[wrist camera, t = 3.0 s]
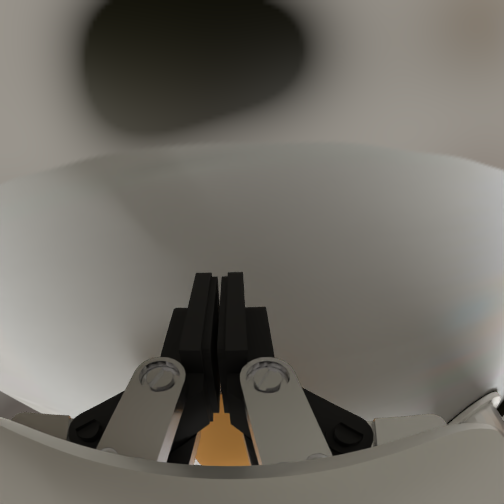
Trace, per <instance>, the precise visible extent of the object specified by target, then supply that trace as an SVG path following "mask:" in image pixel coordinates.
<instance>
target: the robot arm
mask: <svg viewBox="0 0 504 504" xmlns="http://www.w3.org/2000/svg"><path fill="white" fill-rule="evenodd" d="M220 383H221V391H222V399H223V406H224V413H229V414H230V423H231V425H233V426H234V427H235V428H237V429H238V430H239V431H241V432H242V434H243V440H244V444H245V448H246V452H247V456H248V460H249V464H250V466H204V465H194V462H195V458H196V454H197V450H198V446H199V442H200V438H201V430H202V429H203V428H205V427H206V426H207V425H209V424H210V422H213V413H219V412H220ZM500 399H501V396H500V395H499V393H498V392H492V393H490V394H488V395H486V396H484V397H483V398H481V399H480V400H478V401H477V402H475V403H474V404H472V405H471V406H470V407H468V408H467V409H466V410H465V411H463V412H462V413H461V414H459V415H458V416H457V417H456V418H455V419H453V420H452V421H451V422H450V423H449V424H448V425H447V424H446V421H445V420H444V419H443V418H441V417H440V416H438V415H435V414H422V415H413V416H402V417H388V418H375V419H374V420H373V421H365V420H364V419H362V418H361V417H359V416H357V415H355V414H353V413H351V412H349V411H347V410H344V409H342V408H340V407H338V406H336V405H334V404H333V403H331V402H329V401H327V400H325V399H323V398H321V397H319V396H317V395H315V394H313V393H312V392H310V391H308V390H306V389H304V388H302V387H301V385H300V382H299V380H298V378H297V376H296V374H295V371H294V370H293V368H292V367H291V366H290V365H289V364H288V363H286V362H285V361H283V360H280V359H278V358H274V352H273V346H272V340H271V334H270V328H269V323H268V317H267V311H266V307H245V300H244V283H243V272H228V276H225V277H222V282H221V296H220V306H219V291H218V277H212V273H196V276H195V280H194V284H193V288H192V292H191V296H190V300H189V305H188V308H175V309H174V311H173V314H172V317H171V321H170V324H169V328H168V331H167V335H166V338H165V342H164V346H163V349H162V353H161V357H157V358H152V359H149V360H147V361H145V362H143V363H142V364H141V365H139V366H138V368H137V369H136V370H135V372H134V374H133V376H132V378H131V380H130V382H129V384H128V385H127V387H126V389H125V391H123V392H121V393H119V394H118V395H116V396H114V397H112V398H110V399H108V400H106V401H104V402H103V403H101V404H99V405H97V406H95V407H93V408H91V409H89V410H87V411H85V412H83V413H81V414H80V415H78V416H77V417H75V418H74V419H72V418H71V417H70V416H69V415H51V414H39V413H29V412H21V413H18V414H16V415H15V416H14V417H13V418H12V420H8V419H4V418H1V417H0V504H504V421H503V419H502V417H501V416H500V414H499V412H498V411H497V409H496V407H497V405H498V404H499V402H500Z"/></svg>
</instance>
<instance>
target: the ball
mask: <svg viewBox="0 0 504 504" xmlns="http://www.w3.org/2000/svg"><path fill="white" fill-rule="evenodd" d="M196 459H197V461H198V462H199V463H200V464H201V465H204V466H250V464H249V460H248V456H247V452H246V448H245V444H244V440H243V434H242V432H241V431H239V430H238V429H237V428H235V427H234V426H233V425H231V423H230V414H229V413H224V406H223V399H222V394H220V412H219V413H213V422H210V424H209V425H207V426H206V427H205V428H203V429H202V430H201V438H200V442H199V446H198V450H197V454H196Z"/></svg>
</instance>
